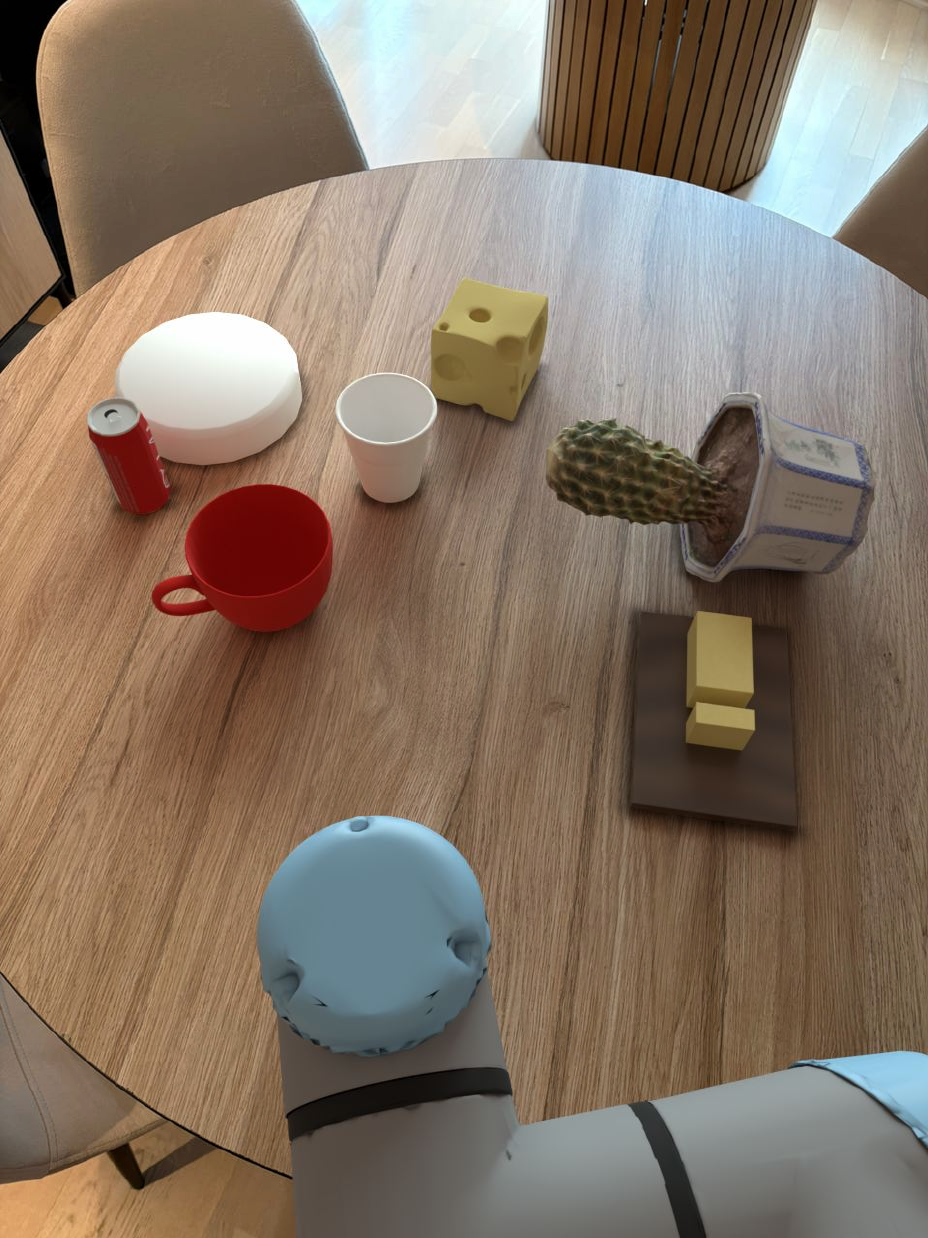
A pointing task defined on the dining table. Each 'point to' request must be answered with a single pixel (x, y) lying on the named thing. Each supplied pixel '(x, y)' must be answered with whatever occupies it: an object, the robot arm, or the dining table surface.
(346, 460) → the dining table surface
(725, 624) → the butter block
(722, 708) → the block
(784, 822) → the board
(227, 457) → the container
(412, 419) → the cup
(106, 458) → the soda can
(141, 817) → the dining table surface
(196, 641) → the dining table surface
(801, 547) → the potted plant
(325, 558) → the ceramic cup
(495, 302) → the cheese
